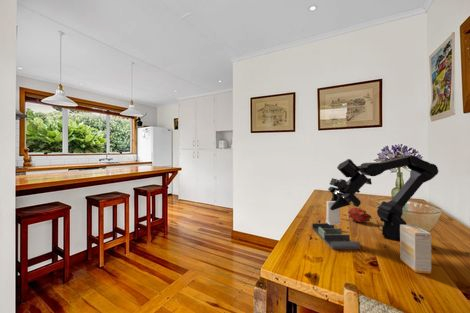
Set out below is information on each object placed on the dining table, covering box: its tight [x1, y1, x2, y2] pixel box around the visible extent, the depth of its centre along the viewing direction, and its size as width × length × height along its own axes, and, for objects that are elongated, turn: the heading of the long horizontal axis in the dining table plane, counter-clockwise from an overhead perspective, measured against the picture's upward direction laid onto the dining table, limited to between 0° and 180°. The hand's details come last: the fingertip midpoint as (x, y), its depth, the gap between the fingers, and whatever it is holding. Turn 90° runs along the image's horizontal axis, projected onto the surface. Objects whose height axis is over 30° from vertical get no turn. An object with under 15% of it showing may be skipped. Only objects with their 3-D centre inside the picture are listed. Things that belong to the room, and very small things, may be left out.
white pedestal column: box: [325, 200, 342, 226], centre depth 91 cm, size 5×4×10 cm
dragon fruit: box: [347, 206, 373, 224], centre depth 112 cm, size 8×8×12 cm
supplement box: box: [399, 224, 432, 275], centre depth 68 cm, size 8×5×13 cm, turn 168°
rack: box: [311, 222, 361, 250], centre depth 91 cm, size 11×22×4 cm, turn 179°
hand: (329, 208), depth 91 cm, fingers closed on white pedestal column, 2 cm apart
